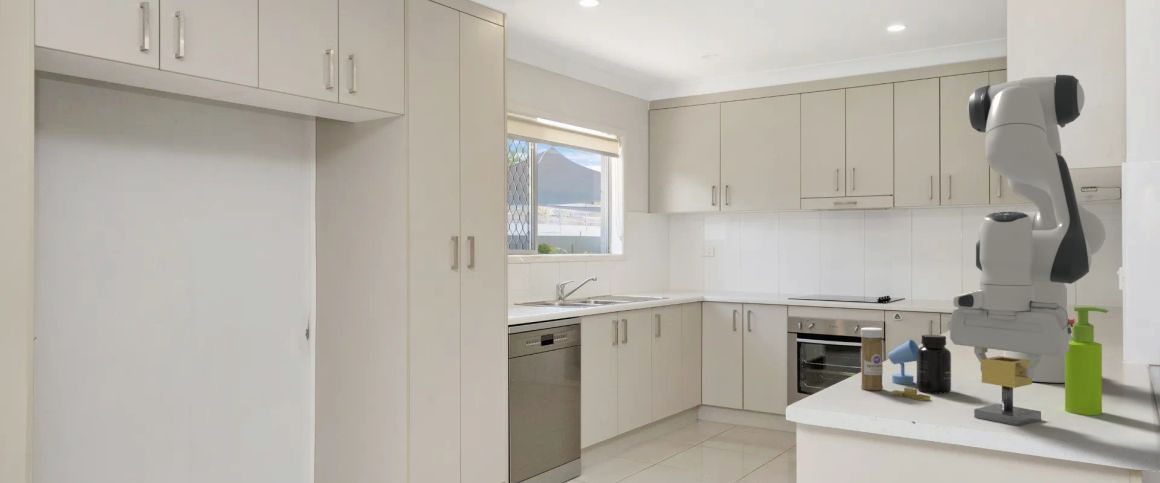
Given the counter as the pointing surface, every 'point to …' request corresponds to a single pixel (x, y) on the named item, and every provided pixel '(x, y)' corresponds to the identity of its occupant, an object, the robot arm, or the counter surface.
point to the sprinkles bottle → (871, 358)
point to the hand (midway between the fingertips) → (1006, 374)
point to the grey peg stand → (1007, 411)
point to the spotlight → (903, 361)
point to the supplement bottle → (933, 365)
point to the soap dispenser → (1084, 368)
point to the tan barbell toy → (910, 394)
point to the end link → (1004, 371)
